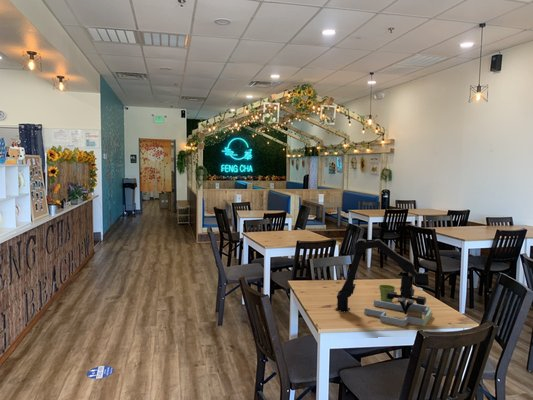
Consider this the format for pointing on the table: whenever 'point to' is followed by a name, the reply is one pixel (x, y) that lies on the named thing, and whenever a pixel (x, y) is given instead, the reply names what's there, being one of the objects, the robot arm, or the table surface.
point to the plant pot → (386, 292)
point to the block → (414, 313)
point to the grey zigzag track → (397, 321)
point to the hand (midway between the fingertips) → (405, 314)
